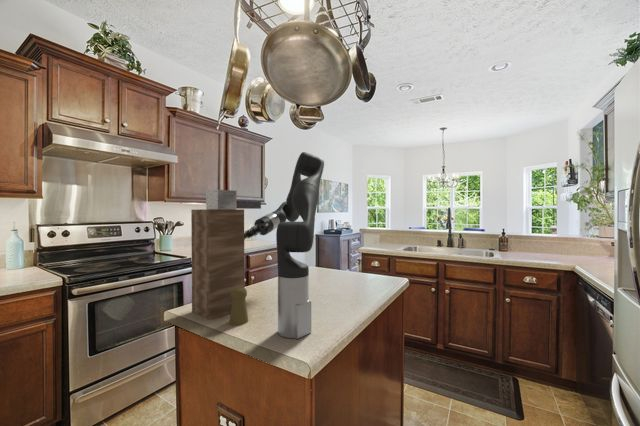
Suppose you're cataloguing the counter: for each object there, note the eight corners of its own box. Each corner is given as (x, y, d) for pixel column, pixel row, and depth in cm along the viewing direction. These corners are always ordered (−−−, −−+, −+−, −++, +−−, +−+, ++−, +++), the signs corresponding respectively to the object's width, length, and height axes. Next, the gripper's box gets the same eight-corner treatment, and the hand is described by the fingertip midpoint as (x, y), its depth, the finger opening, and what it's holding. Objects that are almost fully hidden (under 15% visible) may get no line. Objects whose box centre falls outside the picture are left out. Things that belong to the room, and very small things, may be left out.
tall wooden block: (244, 308, 110) (244, 209, 110) (210, 319, 99) (209, 209, 99) (225, 302, 117) (225, 209, 117) (191, 311, 106) (191, 209, 106)
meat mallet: (264, 209, 121) (264, 192, 121) (217, 209, 104) (217, 189, 103) (252, 209, 125) (252, 193, 125) (206, 209, 108) (206, 190, 108)
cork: (243, 325, 94) (243, 291, 94) (225, 324, 95) (225, 290, 95) (251, 318, 100) (251, 286, 99) (235, 317, 101) (234, 285, 101)
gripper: (253, 221, 134) (227, 235, 122) (273, 210, 126) (247, 224, 113) (261, 235, 135) (235, 251, 122) (281, 226, 126) (256, 241, 114)
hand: (241, 238), depth 118 cm, fingers open, 8 cm apart
